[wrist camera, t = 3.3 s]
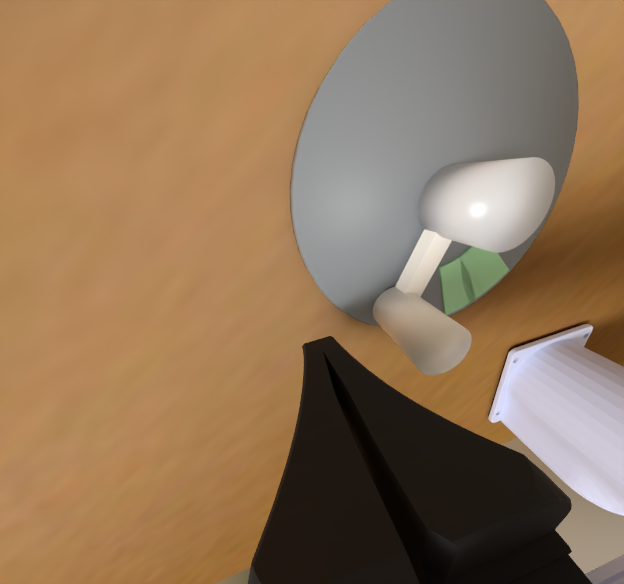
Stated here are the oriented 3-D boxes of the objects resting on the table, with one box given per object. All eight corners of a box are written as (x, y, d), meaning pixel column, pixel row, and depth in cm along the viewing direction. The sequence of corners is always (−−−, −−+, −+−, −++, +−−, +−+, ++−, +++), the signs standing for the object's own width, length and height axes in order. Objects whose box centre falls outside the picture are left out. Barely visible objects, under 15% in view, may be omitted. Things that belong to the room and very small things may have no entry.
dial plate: (513, 286, 15) (530, 293, 15) (318, 345, 14) (323, 358, 13) (598, -25, 9) (640, -51, 8) (246, 15, 7) (245, -11, 6)
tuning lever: (441, 151, 9) (543, 135, 6) (489, 179, 10) (599, 178, 7) (360, 320, 12) (400, 372, 9) (404, 329, 13) (454, 378, 10)
